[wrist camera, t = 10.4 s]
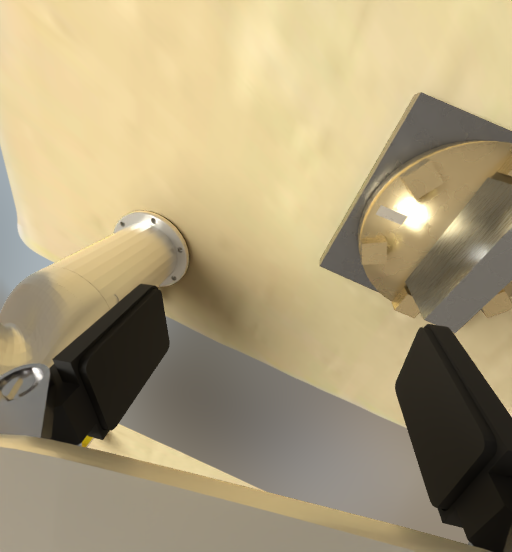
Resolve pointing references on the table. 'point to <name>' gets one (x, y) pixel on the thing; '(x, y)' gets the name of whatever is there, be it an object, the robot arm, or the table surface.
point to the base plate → (399, 149)
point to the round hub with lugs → (443, 233)
